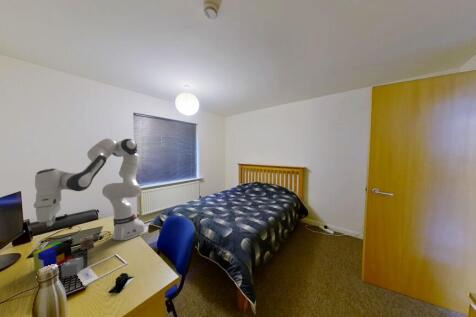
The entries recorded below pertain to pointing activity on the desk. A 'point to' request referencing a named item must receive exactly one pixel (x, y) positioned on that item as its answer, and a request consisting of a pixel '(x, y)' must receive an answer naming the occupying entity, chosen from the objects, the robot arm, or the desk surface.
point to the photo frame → (89, 276)
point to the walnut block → (87, 242)
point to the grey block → (72, 267)
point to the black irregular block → (121, 283)
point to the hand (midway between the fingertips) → (51, 224)
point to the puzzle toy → (52, 255)
